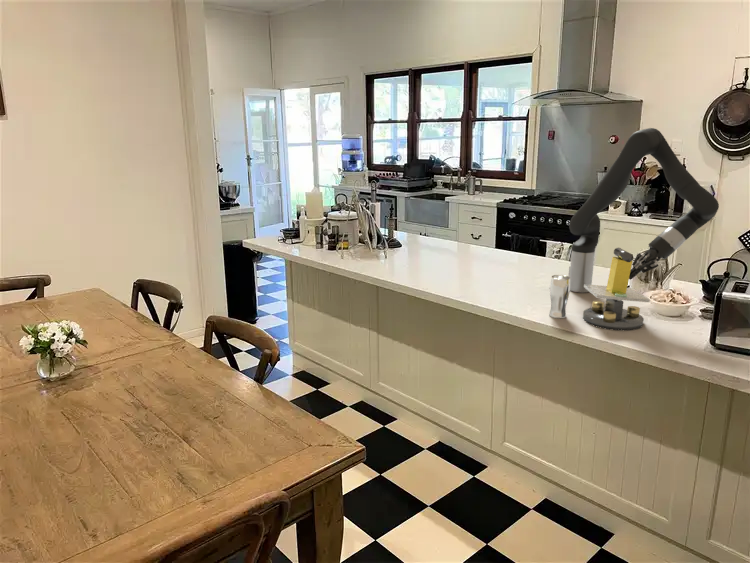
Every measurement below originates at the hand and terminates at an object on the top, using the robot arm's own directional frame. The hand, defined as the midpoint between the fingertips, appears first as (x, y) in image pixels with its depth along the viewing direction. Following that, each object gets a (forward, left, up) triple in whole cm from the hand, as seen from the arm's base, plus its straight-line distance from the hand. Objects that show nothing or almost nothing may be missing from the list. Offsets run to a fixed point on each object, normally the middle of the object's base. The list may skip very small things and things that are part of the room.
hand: (627, 277), depth 194 cm
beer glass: (-11, -19, -16) cm, 28 cm away
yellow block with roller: (-1, -3, -6) cm, 7 cm away
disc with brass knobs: (-1, -3, -16) cm, 17 cm away
